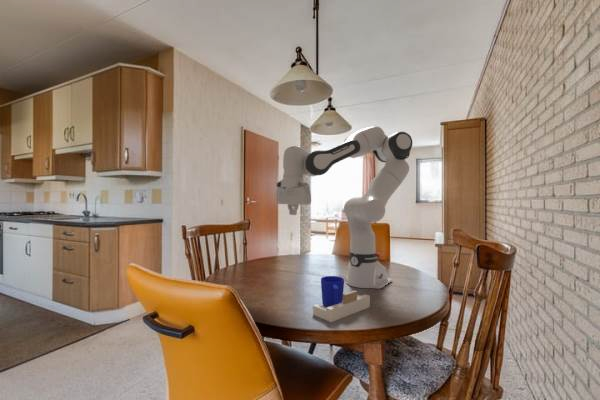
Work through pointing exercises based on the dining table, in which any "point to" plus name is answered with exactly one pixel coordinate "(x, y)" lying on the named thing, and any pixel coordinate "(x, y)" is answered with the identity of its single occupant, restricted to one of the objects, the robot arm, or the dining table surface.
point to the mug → (332, 290)
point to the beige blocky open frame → (343, 307)
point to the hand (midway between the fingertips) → (292, 214)
